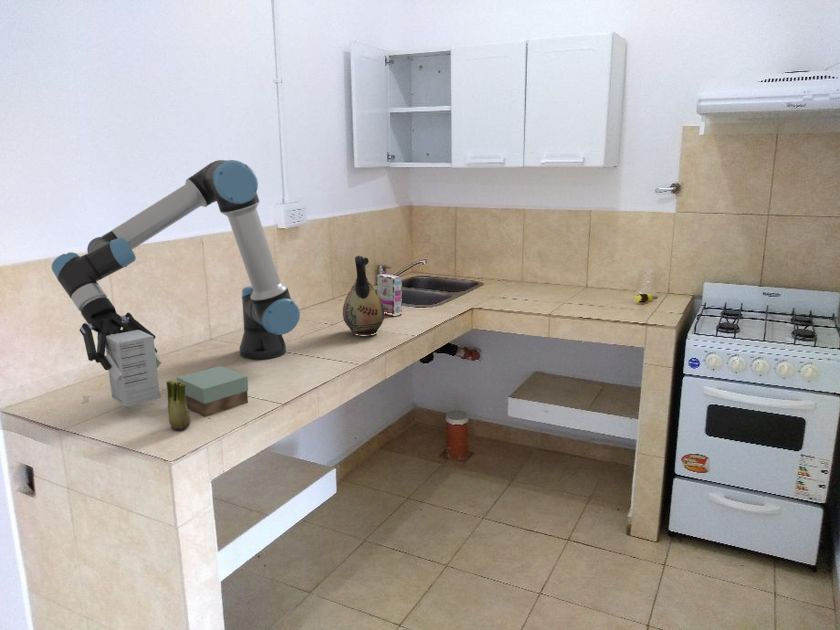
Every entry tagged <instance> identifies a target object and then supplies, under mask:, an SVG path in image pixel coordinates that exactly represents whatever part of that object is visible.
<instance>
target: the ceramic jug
mask: <svg viewBox="0 0 840 630" xmlns="http://www.w3.org/2000/svg"><path fill="white" fill-rule="evenodd" d="M354 262H355V270H356V279H355V281H354V283H353V285H352V286H351V288H350V289H349V292H348V293H347V296H346V297H345V299H344V301H343V305H342V317H343V321H344V322H345V323H344V324H345V325H346V326H347V327H348V328H349V329H350V331H351V332H352V334H353V333H354V334H358V335H371V334H374V333H376V332H377V331H378V330H379V328H380V327H382V324H383V323H384V319H385V314H384V307H383V304H382V301H381V298H380V297H379V295H378V293H377V289H375V287H373V285H372V284H371V282H370V281H369V280H368V277H367V273H366V271H367V270H366V266H367V265H368V264H369V262H370V261H369V258H368V257H363V256H362V255H356V256H355V257H354Z"/></svg>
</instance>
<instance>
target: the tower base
mask: <svg viewBox="0 0 840 630" xmlns="http://www.w3.org/2000/svg"><path fill="white" fill-rule="evenodd" d="M248 396H249V395H248V391H245V392H242V393H239V394H235V395H232V396H229V397H226V398H222V399H219V400H216V401H212V402H209V403H206V404H203V403H201V402H199V401H197V400H195V399H193V398H191V397H188V396H186V403H187V407H188V411H191V412H194V413H195V414H198V415H199V416H202V417H204V418H206V417H209V416H213V415H215V414H218V413H221V412H224V411H227V410H230V409H233V408H236V407H240V406H242V405H246V404H248V402H249V399H248V398H249V397H248Z"/></svg>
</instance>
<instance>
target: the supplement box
mask: <svg viewBox="0 0 840 630" xmlns="http://www.w3.org/2000/svg"><path fill="white" fill-rule="evenodd" d="M155 348H156V346H155V339H154V337H153V336H151V335H149V334H147V333H145V332H143V331H141V330H134V331H129V332H124V333H119V334H118V333H117V334H111V335H108V336H106V346H105V355H108V354H109V355H110V357H111V358H112V360H113V361H114V363H115V364H116V365H117V367H118V368H119V370H120V371H121V373H122V374H123V375H122V377H121V378H120V380H119V381H115V379H114V378H113V376H112V375H111V373H110V372H109V371H108V378H109V385H110V392H111V399H113V400H114V401H116V402H118V403H119V404H120V405H122V406H123V407H125V408H126V407H130V406H132V405H133V406H134V405H138V404H141V403H145V402H149V401H154V400H156V399H157V400H158V399H160V398H161V394H160V384H159V375H158V368H157V365H156V356H155Z"/></svg>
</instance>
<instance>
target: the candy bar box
mask: <svg viewBox="0 0 840 630" xmlns="http://www.w3.org/2000/svg"><path fill="white" fill-rule="evenodd" d="M376 285H377V286H376V292H377V293H378V295H379V297H380V298H381V301H382V304H383V307H384V312H387V313H392V314H395V313H399V312H402V311H403V295H402V294H403V277H401V276H399V275H392V274H387V273H381V274H376ZM402 313H403V312H402Z"/></svg>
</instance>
